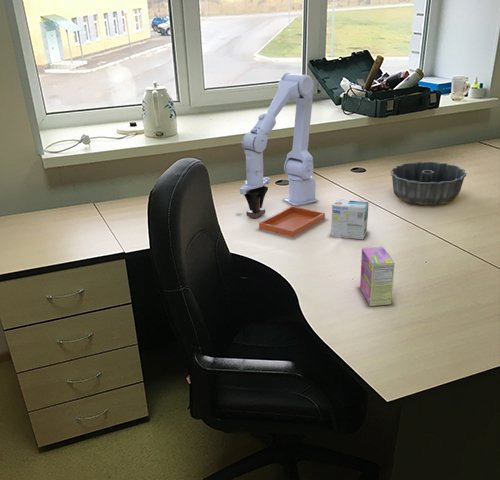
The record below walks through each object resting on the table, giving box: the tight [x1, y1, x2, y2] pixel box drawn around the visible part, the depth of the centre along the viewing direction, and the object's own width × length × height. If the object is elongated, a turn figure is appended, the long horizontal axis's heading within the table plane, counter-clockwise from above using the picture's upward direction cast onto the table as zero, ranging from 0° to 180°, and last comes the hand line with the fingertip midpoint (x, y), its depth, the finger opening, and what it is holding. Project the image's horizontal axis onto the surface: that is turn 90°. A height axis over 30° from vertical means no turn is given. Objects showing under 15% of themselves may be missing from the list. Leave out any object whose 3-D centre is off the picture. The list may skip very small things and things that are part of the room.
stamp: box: [246, 196, 266, 219], centre depth 203 cm, size 6×4×6 cm
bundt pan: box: [390, 161, 467, 206], centre depth 214 cm, size 26×26×10 cm
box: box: [359, 246, 396, 307], centre depth 150 cm, size 10×6×12 cm, turn 5°
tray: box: [258, 205, 326, 238], centre depth 198 cm, size 20×14×2 cm
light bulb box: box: [330, 198, 370, 240], centre depth 187 cm, size 11×7×11 cm, turn 71°
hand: (255, 208), depth 204 cm, fingers closed on stamp, 3 cm apart
